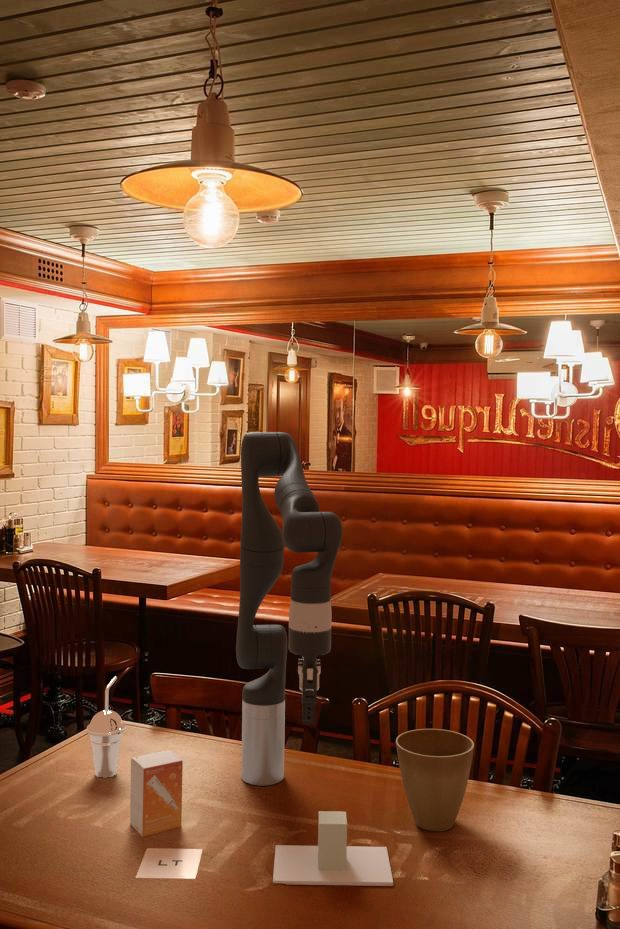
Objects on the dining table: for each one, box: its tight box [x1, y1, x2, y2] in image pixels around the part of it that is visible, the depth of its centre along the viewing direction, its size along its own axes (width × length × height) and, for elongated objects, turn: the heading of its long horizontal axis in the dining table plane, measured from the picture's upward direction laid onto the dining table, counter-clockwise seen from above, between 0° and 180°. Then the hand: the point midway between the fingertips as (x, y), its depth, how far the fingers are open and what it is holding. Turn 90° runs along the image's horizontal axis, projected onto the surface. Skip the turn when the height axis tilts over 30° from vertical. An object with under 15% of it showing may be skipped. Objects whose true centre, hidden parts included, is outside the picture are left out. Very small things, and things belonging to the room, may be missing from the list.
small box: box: [129, 749, 184, 838], centre depth 160 cm, size 8×6×13 cm
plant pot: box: [395, 728, 475, 832], centre depth 163 cm, size 15×15×16 cm
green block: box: [317, 810, 348, 870], centre depth 146 cm, size 5×5×8 cm
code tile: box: [135, 847, 204, 880], centre depth 146 cm, size 10×10×1 cm
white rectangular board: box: [272, 844, 394, 887], centre depth 146 cm, size 12×20×1 cm, turn 90°
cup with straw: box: [85, 675, 127, 779], centre depth 184 cm, size 8×9×20 cm
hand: (308, 714), depth 150 cm, fingers open, 8 cm apart
